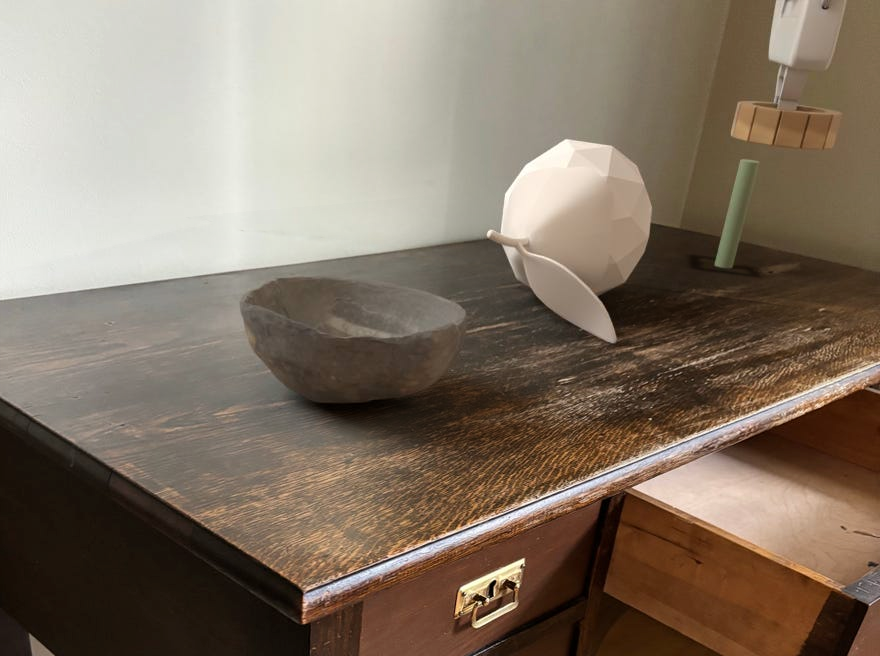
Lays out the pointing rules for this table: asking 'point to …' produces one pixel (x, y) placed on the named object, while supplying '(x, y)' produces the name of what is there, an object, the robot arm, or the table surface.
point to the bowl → (352, 336)
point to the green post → (736, 213)
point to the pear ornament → (576, 229)
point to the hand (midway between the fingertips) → (781, 118)
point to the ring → (786, 125)
